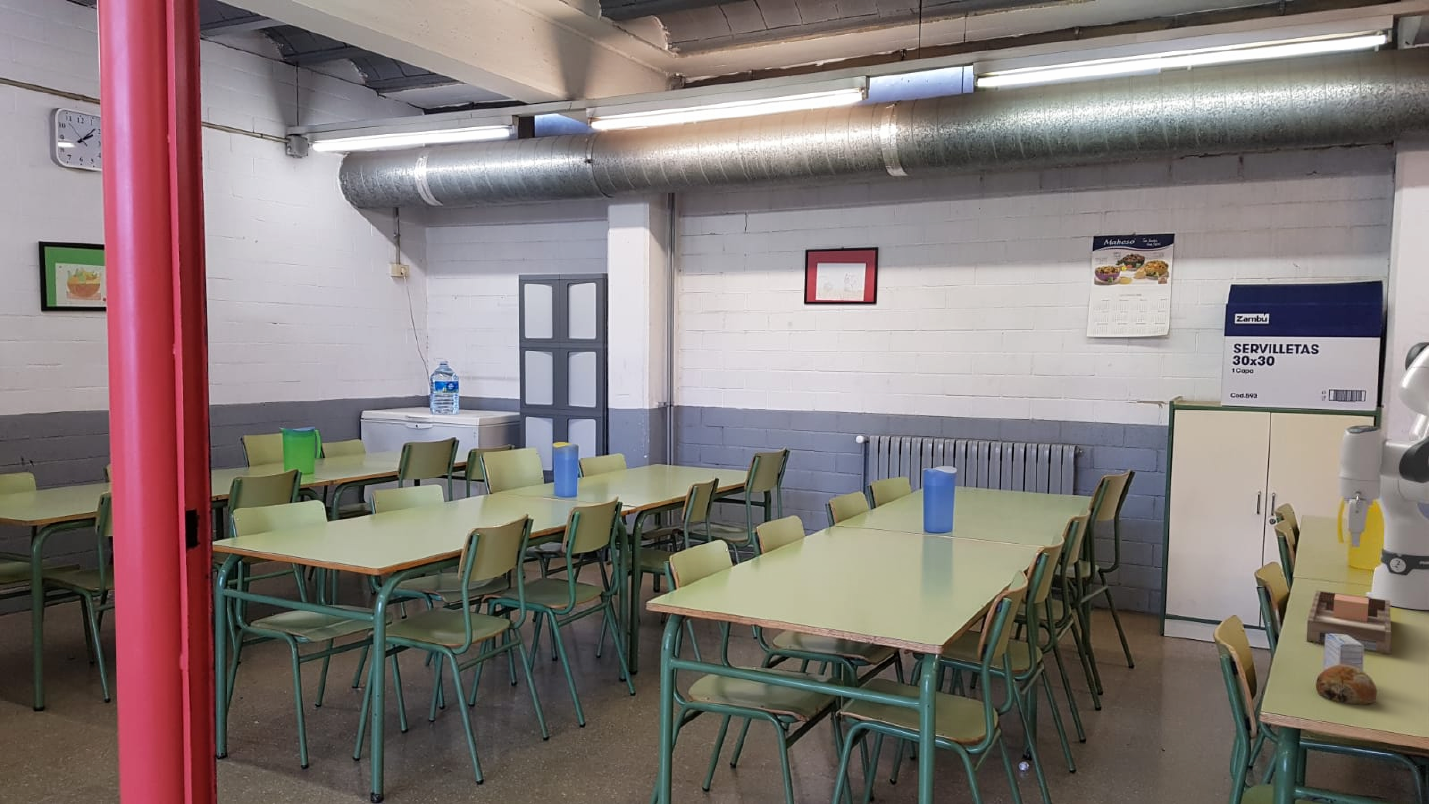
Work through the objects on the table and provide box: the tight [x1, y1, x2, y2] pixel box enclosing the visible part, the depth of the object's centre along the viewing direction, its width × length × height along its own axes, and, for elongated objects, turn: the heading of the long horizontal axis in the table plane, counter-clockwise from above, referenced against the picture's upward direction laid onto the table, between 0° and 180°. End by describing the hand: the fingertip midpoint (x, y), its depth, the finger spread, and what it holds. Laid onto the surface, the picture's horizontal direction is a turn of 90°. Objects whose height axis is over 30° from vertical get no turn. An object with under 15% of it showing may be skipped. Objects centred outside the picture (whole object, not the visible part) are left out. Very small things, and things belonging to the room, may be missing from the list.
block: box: [1333, 593, 1370, 622], centre depth 244 cm, size 7×7×4 cm
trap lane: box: [1306, 590, 1392, 655], centre depth 241 cm, size 36×16×5 cm, turn 146°
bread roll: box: [1315, 664, 1378, 705], centre depth 193 cm, size 10×10×8 cm
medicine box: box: [1322, 634, 1365, 672], centre depth 203 cm, size 8×4×9 cm, turn 168°
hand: (1355, 544), depth 250 cm, fingers open, 4 cm apart
